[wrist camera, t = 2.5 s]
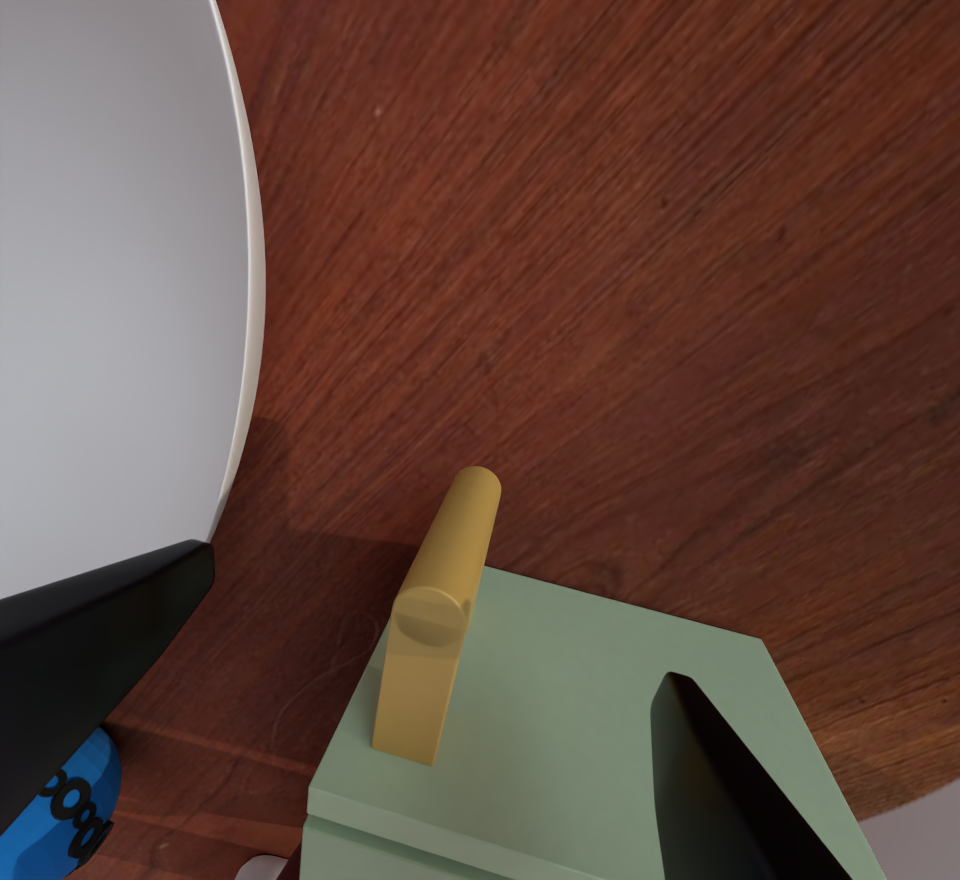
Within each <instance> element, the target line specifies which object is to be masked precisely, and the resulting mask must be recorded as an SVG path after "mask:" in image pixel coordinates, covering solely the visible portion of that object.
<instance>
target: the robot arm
mask: <svg viewBox="0 0 960 880" xmlns="http://www.w3.org/2000/svg"><path fill="white" fill-rule="evenodd" d="M214 579H215V562H214V548H213V546H212V545H211V544H210V543H207V542H203V541H200V540H196V539H189V540H185V541H182V542H179V543H176V544H173V545H170V546H167V547H163V548H160V549H157V550H154V551H151V552H148V553H144V554H141V555H138V556H135V557H132V558H129V559H126V560H122V561H119V562H116V563H113V564H110V565H107V566H103V567H100V568H97V569H94V570H91V571H88V572H84V573H81V574H78V575H75V576H72V577H69V578H66V579H62V580H59V581H56V582H53V583H50V584H47V585H43V586H40V587H37V588H34V589H31V590H28V591H24V592H21V593H18V594H15V595H12V596H9V597H6V598H2V599H0V837H1V836H2V835H3V834H4V832H5V831H6V830H7V829H8V828H9V827H10V826H11V825H12V823H13V822H14V821H15V820H16V819H17V818H18V817H19V816H20V814H21V813H22V812H23V811H24V810H25V809H26V808H27V807H28V805H29V804H30V803H31V802H32V801H33V800H34V799H35V798H36V796H37V795H38V794H39V793H40V792H41V791H42V790H43V788H44V787H45V786H46V785H47V784H48V783H49V782H50V781H51V779H52V778H53V777H54V776H55V775H56V774H57V773H58V772H59V770H60V769H61V768H62V767H63V766H64V765H65V764H66V763H67V761H68V760H69V759H70V758H71V757H72V756H73V755H74V754H75V752H76V751H77V750H78V749H79V748H80V747H81V746H82V745H83V743H84V742H85V741H86V740H87V739H88V738H89V737H90V736H91V734H92V733H93V732H94V731H95V730H96V729H97V728H98V726H99V725H100V724H101V723H102V722H103V721H104V720H105V719H106V717H107V716H108V715H109V714H110V713H111V712H112V711H113V710H114V708H115V707H116V706H117V705H118V704H119V703H120V702H121V701H122V699H123V698H124V697H125V696H126V695H127V694H128V693H129V692H130V690H131V689H132V688H133V687H134V686H135V685H136V684H137V683H138V681H139V680H140V679H141V678H142V677H143V676H144V675H145V674H146V672H147V671H148V670H149V669H150V668H151V667H152V665H153V664H154V663H155V662H156V661H157V660H158V658H159V657H160V656H161V655H162V653H163V652H164V651H165V650H166V648H167V647H168V646H169V644H170V643H171V642H172V640H173V639H174V638H175V636H176V635H177V634H178V632H179V631H180V630H181V628H182V627H183V625H184V624H185V623H186V621H187V620H188V619H189V617H190V616H191V615H192V613H193V612H194V611H195V609H196V608H197V606H198V605H199V604H200V602H201V601H202V600H203V598H204V597H205V596H206V594H207V593H208V592H209V590H210V589H211V587H212V585H213V583H214ZM650 723H651V745H652V767H653V789H654V804H655V813H656V822H657V829H658V836H659V842H660V849H661V856H662V863H663V870H664V877H665V880H853V879H852V878H851V877H850V875H849V874H848V873H847V872H846V870H845V869H844V868H843V867H842V865H841V864H840V863H839V862H838V860H837V859H836V858H835V857H834V855H833V854H832V853H831V852H830V850H829V849H828V848H827V847H826V845H825V844H824V843H823V842H822V840H821V839H820V838H819V836H818V835H817V834H816V833H815V831H814V830H813V829H812V828H811V826H810V825H809V824H808V823H807V821H806V820H805V819H804V818H803V816H802V815H801V814H800V813H799V811H798V810H797V809H796V808H795V806H794V805H793V804H792V803H791V801H790V800H789V799H788V798H787V796H786V795H785V794H784V792H783V791H782V790H781V789H780V787H779V786H778V785H777V784H776V782H775V781H774V780H773V779H772V777H771V776H770V775H769V774H768V772H767V771H766V770H765V769H764V767H763V766H762V765H761V764H760V762H759V761H758V760H757V759H756V757H755V756H754V755H753V754H752V752H751V751H750V750H749V748H748V747H747V746H746V745H745V743H744V742H743V741H742V740H741V738H740V737H739V736H738V735H737V733H736V732H735V731H734V730H733V728H732V727H731V726H730V725H729V723H728V722H727V721H726V720H725V718H724V717H723V716H722V715H721V713H720V712H719V711H718V710H717V708H716V707H715V706H714V704H713V703H712V702H711V701H710V699H709V698H708V697H707V696H706V694H705V693H704V692H703V691H702V689H701V688H700V687H699V686H698V684H697V683H696V682H695V681H694V680H693V679H692V678H691V677H689V676H687V675H683V674H679V673H676V672H672V671H670V672H667V673H666V674H665V676H664V677H663V679H662V681H661V684H660V686H659V688H658V690H657V692H656V694H655V696H654V698H653V700H652V704H651V709H650Z"/></svg>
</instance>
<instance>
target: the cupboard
mask: <svg viewBox="0 0 960 880" xmlns="http://www.w3.org/2000/svg"><path fill="white" fill-rule="evenodd" d="M299 880H514V879H511V878H508V877H505V876H502V875H499V874H496V873H493V872H489V871H486V870H483V869H480V868H477V867H474V866H471V865H468V864H464V863H461V862H458V861H455V860H452V859H449V858H446V857H443V856H439V855H436V854H433V853H430V852H427V851H424V850H421V849H418V848H414V847H411V846H408V845H405V844H402V843H399V842H396V841H392V840H389V839H386V838H383V837H380V836H377V835H374V834H371V833H367V832H364V831H361V830H358V829H355V828H352V827H349V826H346V825H342V824H339V823H336V822H333V821H330V820H327V819H324V818H321V817H317V816H314V815H311V814H309V815H308V817H307V819H306V821H305V823H304V825H303V836H302V850H301V864H300V879H299Z"/></svg>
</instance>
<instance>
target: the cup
mask: <svg viewBox="0 0 960 880" xmlns="http://www.w3.org/2000/svg"><path fill="white" fill-rule="evenodd" d="M287 861H288V859H284V858H280V857H276V856H270V855H262V856H257V857H253V858H252V859H251V860H249V861H248V862H247V863H246V864H244V865H243V866H242V867H241V868H240V870H239V872H238V874H237V876H236V878H235V880H276V879H277V877H278V876H279V874H280V873H281V871H282V869H283V868H284V866H285V865H286V863H287Z"/></svg>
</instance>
